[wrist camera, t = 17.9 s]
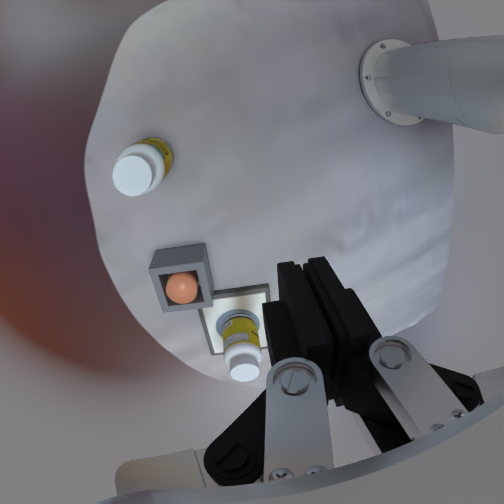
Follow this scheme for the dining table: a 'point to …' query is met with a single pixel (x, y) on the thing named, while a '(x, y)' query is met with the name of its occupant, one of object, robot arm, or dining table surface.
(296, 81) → the dining table surface
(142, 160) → the supplement bottle
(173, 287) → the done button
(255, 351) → the supplement bottle
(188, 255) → the button housing
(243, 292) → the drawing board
